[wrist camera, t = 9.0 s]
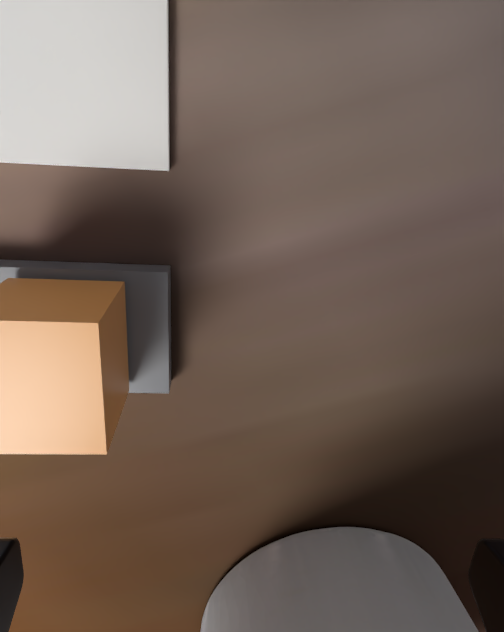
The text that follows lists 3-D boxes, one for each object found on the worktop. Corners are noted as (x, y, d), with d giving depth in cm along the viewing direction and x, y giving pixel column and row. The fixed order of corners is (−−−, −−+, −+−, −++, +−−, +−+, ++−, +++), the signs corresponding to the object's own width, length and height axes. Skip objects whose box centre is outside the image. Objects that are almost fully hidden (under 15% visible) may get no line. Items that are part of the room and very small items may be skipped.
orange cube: (124, 281, 17) (98, 323, 13) (129, 389, 19) (106, 454, 15) (8, 277, 17) (-53, 319, 13) (23, 388, 18) (-28, 453, 15)
